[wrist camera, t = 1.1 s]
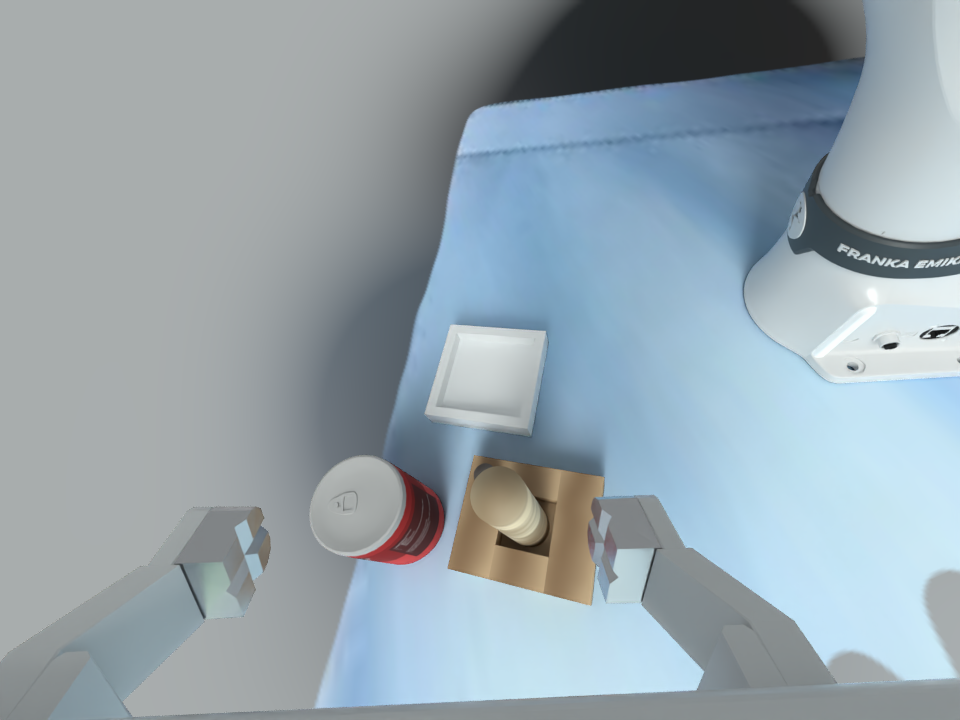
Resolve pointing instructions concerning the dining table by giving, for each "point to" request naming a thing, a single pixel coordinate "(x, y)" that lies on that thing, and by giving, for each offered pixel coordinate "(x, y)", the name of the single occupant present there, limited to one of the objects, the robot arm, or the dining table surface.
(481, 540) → the socket block
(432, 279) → the dining table surface
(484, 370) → the tray
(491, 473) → the dowel
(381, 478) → the canned food
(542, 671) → the dining table surface
